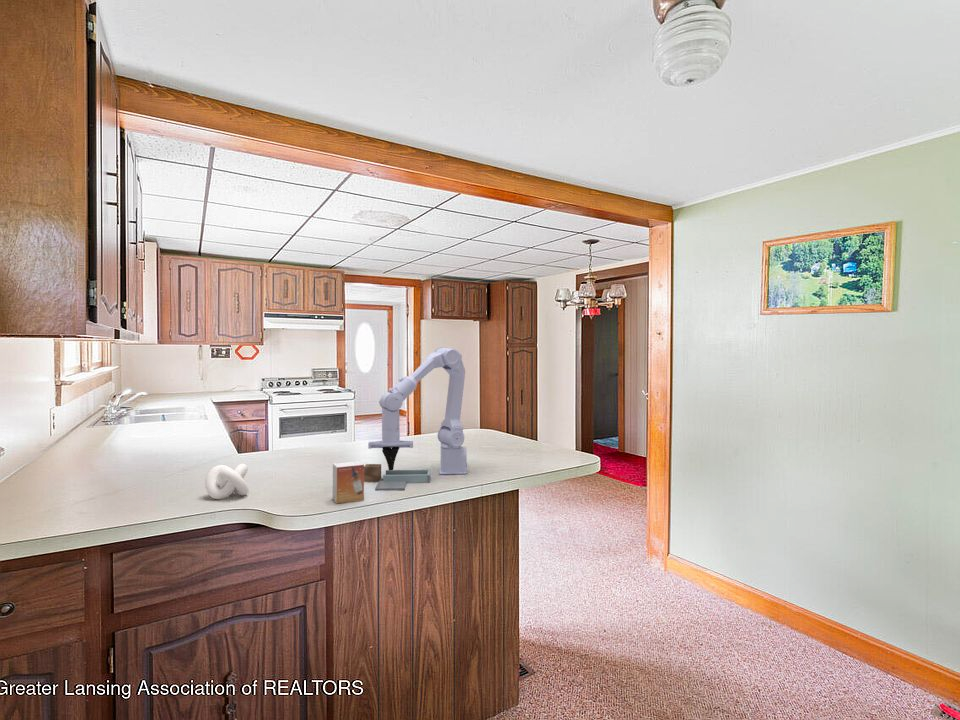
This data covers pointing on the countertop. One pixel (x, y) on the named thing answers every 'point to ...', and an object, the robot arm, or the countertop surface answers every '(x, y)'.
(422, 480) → the u-shaped bracket
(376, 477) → the block
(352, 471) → the small box
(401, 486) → the coaster
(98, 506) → the countertop surface
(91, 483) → the countertop surface
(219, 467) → the white knot sculpture
